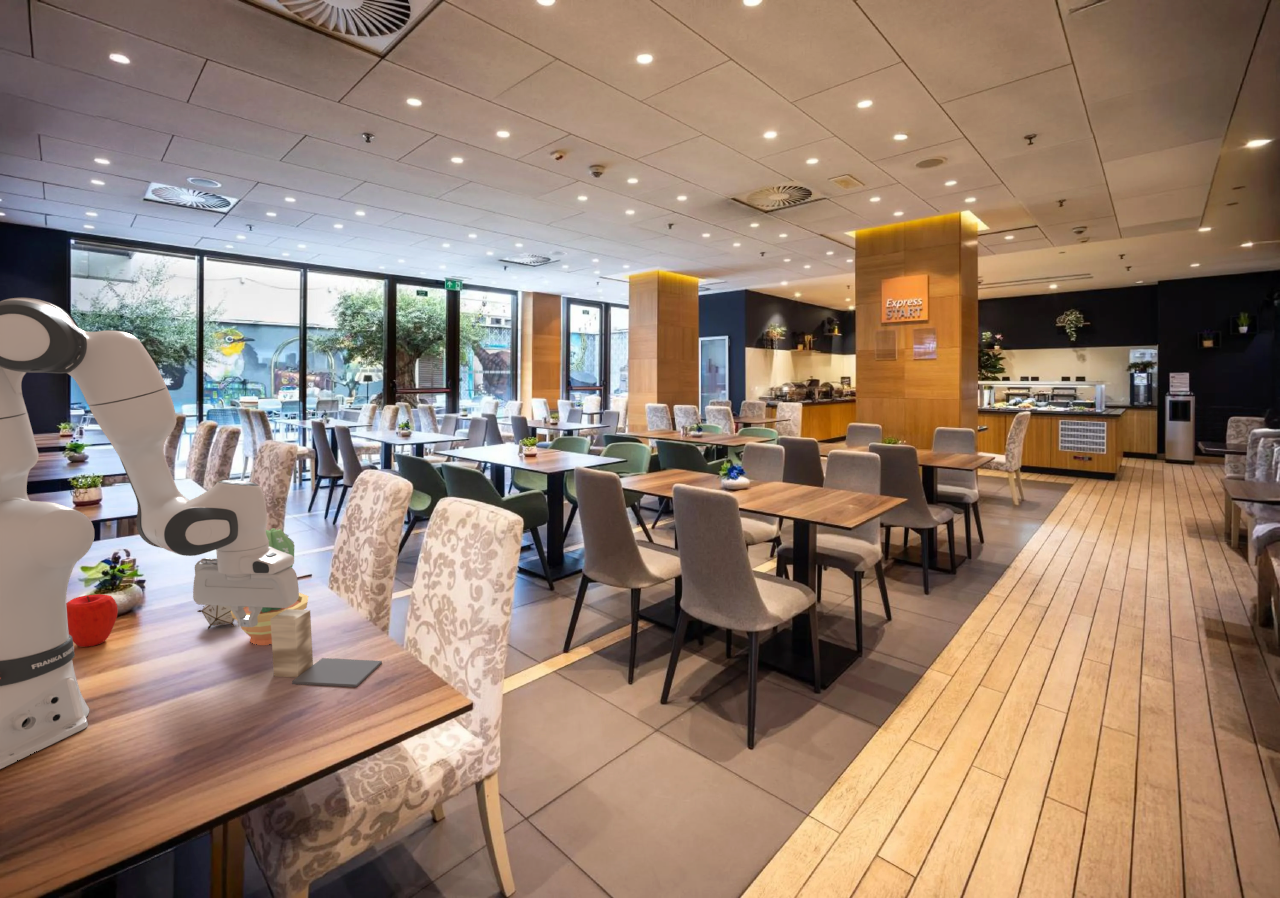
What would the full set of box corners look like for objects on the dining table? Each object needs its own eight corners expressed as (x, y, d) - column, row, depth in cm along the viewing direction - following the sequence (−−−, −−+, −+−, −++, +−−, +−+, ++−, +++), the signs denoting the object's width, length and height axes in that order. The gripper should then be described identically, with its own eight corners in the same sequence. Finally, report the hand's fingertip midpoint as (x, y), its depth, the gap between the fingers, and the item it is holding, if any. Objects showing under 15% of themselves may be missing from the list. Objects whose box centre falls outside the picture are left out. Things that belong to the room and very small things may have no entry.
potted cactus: (326, 629, 144) (321, 526, 142) (267, 656, 130) (260, 542, 127) (277, 619, 149) (271, 520, 147) (215, 645, 135) (208, 535, 132)
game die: (225, 643, 145) (214, 620, 138) (196, 627, 146) (184, 604, 139) (256, 614, 151) (247, 591, 145) (228, 599, 152) (218, 576, 146)
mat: (356, 687, 118) (356, 684, 118) (292, 683, 119) (292, 681, 118) (381, 663, 128) (381, 660, 127) (322, 660, 128) (322, 658, 128)
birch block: (297, 677, 121) (294, 619, 120) (273, 676, 121) (270, 618, 120) (312, 665, 126) (310, 610, 125) (289, 664, 126) (286, 609, 125)
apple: (126, 632, 141) (122, 587, 140) (107, 648, 133) (102, 601, 131) (79, 637, 138) (75, 591, 137) (56, 654, 130) (51, 605, 129)
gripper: (181, 562, 119) (187, 630, 121) (281, 566, 118) (285, 634, 119) (206, 553, 126) (211, 617, 127) (301, 556, 124) (305, 621, 126)
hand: (248, 625), depth 123 cm, fingers closed
